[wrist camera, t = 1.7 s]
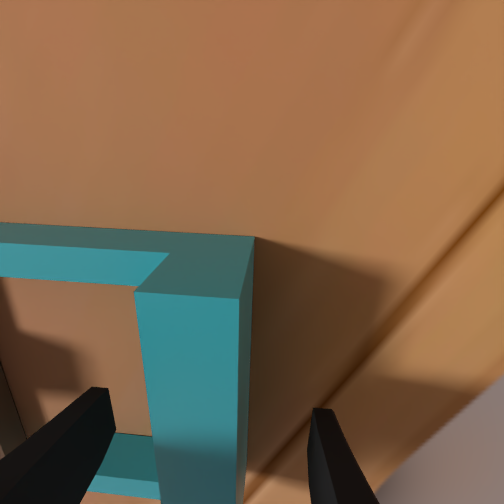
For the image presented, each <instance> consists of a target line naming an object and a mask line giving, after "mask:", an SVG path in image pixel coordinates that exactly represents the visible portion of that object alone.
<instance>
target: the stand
mask: <svg viewBox="0 0 504 504" xmlns="http://www.w3.org/2000/svg"><path fill="white" fill-rule="evenodd" d="M26 440H27V439H26V436H25V434H24V431H23V428H22V425H21V422H20V419H19V416H18V413H17V410H16V408H15V405H14V402H13V399H12V396H11V393H10V390H9V387H8V384H7V382H6V379H5V376H4V373H3V370H2V367H1V364H0V460H1V459H2V458H3V457H5V456H6V455H7V454H8V453H10V452H11V451H12V450H14V449H15V448H16V447H18V446H19V445H20V444H22V443H23V442H24V441H26Z"/></svg>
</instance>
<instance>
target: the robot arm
mask: <svg viewBox="0 0 504 504" xmlns="http://www.w3.org/2000/svg"><path fill="white" fill-rule="evenodd" d="M115 431H116V426H115V421H114V415H113V410H112V405H111V400H110V395H109V390H108V388H100V387H91V388H90V389H88V390H87V391H86V392H85V393H83V394H82V395H81V396H80V397H79V398H77V399H76V400H75V401H74V402H72V403H71V404H70V405H69V406H68V407H66V408H65V409H64V410H63V411H62V412H60V413H59V414H58V415H57V416H55V417H54V418H53V419H52V420H51V421H49V422H48V423H47V424H46V425H44V426H43V427H42V428H41V429H39V430H38V431H37V432H36V433H34V434H33V435H32V436H31V437H29V438H28V439H27V440H26V441H24V442H23V443H22V444H20V445H19V446H18V447H16V448H15V449H14V450H12V451H11V452H10V453H8V454H7V455H6V456H5V457H3V458H2V459H1V460H0V504H80V502H81V500H82V499H83V497H84V495H85V493H86V491H87V490H88V488H89V486H90V484H91V482H92V480H93V479H94V477H95V475H96V473H97V471H98V469H99V468H100V466H101V464H102V462H103V460H104V457H105V455H106V453H107V451H108V448H109V446H110V443H111V441H112V439H113V436H114V434H115ZM307 457H308V477H309V489H310V497H311V504H379V502H378V500H377V498H376V497H375V495H374V493H373V491H372V489H371V488H370V486H369V484H368V482H367V480H366V478H365V476H364V475H363V473H362V471H361V469H360V467H359V465H358V463H357V461H356V459H355V457H354V455H353V453H352V451H351V449H350V447H349V445H348V443H347V441H346V439H345V437H344V434H343V432H342V430H341V428H340V425H339V423H338V421H337V418H336V416H335V413H334V412H333V410H332V409H323V408H313V412H312V419H311V426H310V433H309V440H308V447H307Z"/></svg>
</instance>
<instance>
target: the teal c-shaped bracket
mask: <svg viewBox="0 0 504 504" xmlns="http://www.w3.org/2000/svg"><path fill="white" fill-rule="evenodd" d="M254 241H255V237H252V236H234V235H217V234H199V233H181V232H163V231H145V230H127V229H109V228H91V227H73V226H55V225H37V224H19V223H1V222H0V277H14V278H28V279H42V280H57V281H71V282H86V283H100V284H115V285H129V286H139V287H138V288H137V289H136V290H135V291H134V297H135V304H136V312H137V320H138V328H139V336H140V343H141V351H142V359H143V367H144V374H145V382H146V390H147V398H148V406H149V413H150V421H151V429H152V437H149V436H139V435H130V434H120V433H115V434H114V436H113V439H112V441H111V443H110V446H109V448H108V451H107V453H106V455H105V457H104V460H103V462H102V464H101V466H100V468H99V469H98V471H97V473H96V475H95V477H94V479H93V480H92V482H91V484H90V486H89V488H88V490H87V491H92V492H100V493H108V494H117V495H125V496H134V497H142V498H150V499H159V500H161V504H243V495H244V486H245V476H246V466H247V441H248V413H249V384H250V355H251V327H252V298H253V270H254Z"/></svg>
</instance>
